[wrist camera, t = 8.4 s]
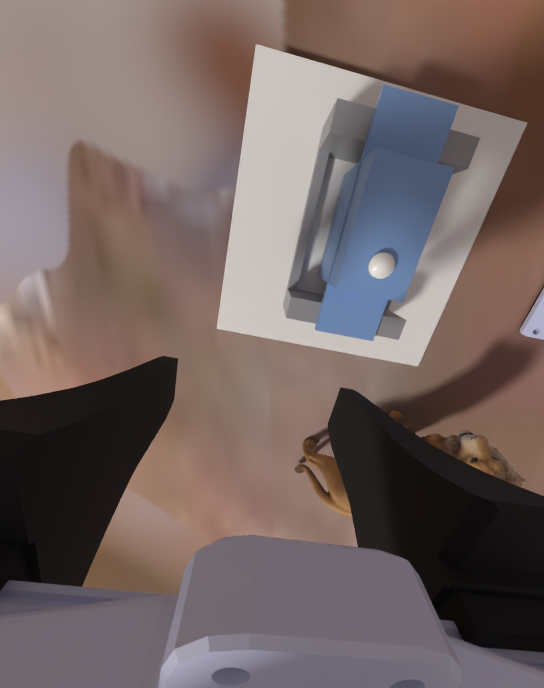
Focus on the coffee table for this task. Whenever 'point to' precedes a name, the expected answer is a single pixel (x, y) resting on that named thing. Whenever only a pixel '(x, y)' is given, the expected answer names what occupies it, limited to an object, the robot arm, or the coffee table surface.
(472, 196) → the pocket plate
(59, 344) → the coffee table surface
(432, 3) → the coffee table surface
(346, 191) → the block
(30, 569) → the robot arm
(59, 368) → the coffee table surface
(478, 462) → the lion figurine
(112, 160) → the coffee table surface
